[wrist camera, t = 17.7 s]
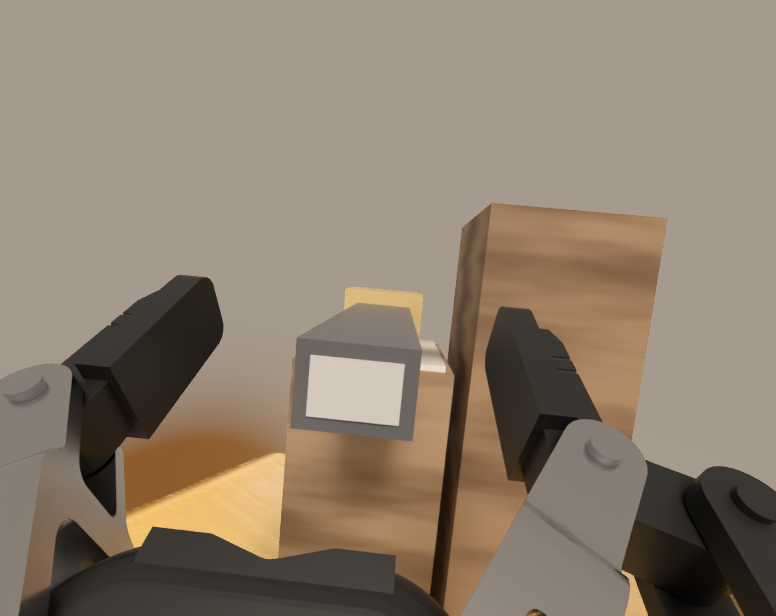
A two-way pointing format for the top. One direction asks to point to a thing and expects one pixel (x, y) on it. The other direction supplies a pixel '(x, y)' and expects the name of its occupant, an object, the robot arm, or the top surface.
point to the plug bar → (361, 367)
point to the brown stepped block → (479, 398)
